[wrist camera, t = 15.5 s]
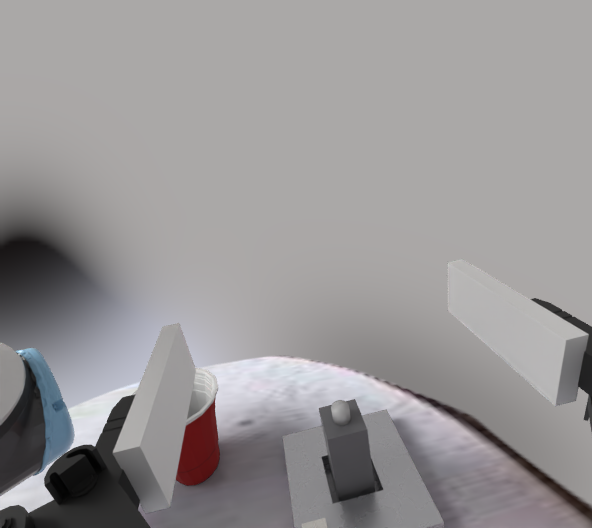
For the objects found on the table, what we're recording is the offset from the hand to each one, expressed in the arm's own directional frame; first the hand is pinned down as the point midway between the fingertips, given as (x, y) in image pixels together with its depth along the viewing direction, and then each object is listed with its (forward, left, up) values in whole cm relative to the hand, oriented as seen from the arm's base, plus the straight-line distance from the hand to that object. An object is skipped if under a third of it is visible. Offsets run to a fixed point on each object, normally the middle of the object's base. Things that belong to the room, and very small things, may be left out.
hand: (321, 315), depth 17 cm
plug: (-9, +7, -30) cm, 32 cm away
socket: (-9, +7, -30) cm, 32 cm away
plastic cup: (-25, -5, -30) cm, 40 cm away
